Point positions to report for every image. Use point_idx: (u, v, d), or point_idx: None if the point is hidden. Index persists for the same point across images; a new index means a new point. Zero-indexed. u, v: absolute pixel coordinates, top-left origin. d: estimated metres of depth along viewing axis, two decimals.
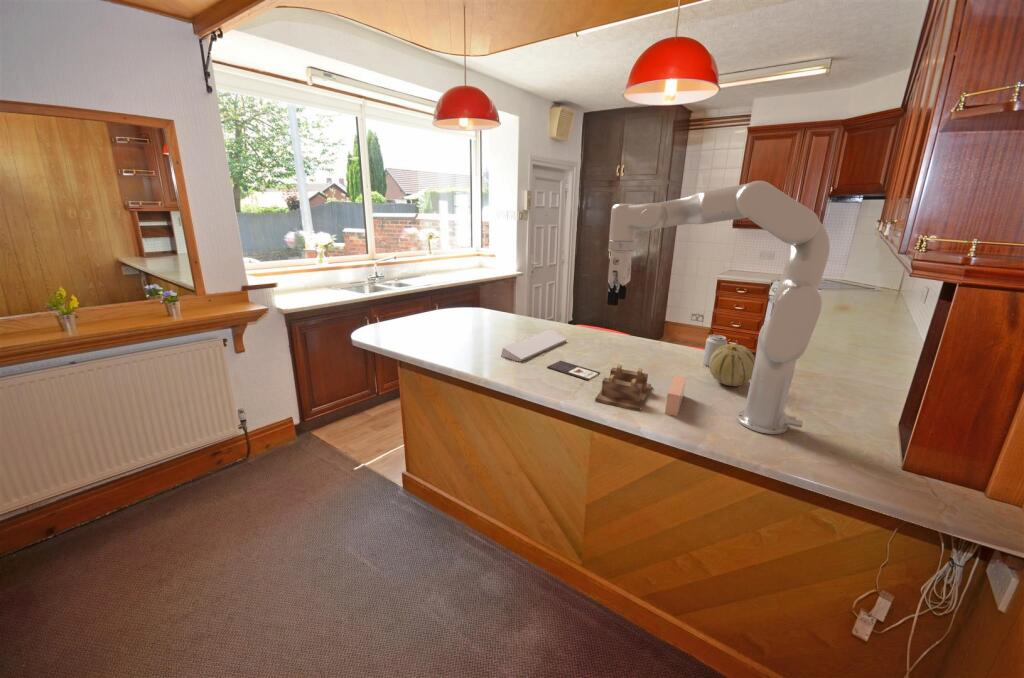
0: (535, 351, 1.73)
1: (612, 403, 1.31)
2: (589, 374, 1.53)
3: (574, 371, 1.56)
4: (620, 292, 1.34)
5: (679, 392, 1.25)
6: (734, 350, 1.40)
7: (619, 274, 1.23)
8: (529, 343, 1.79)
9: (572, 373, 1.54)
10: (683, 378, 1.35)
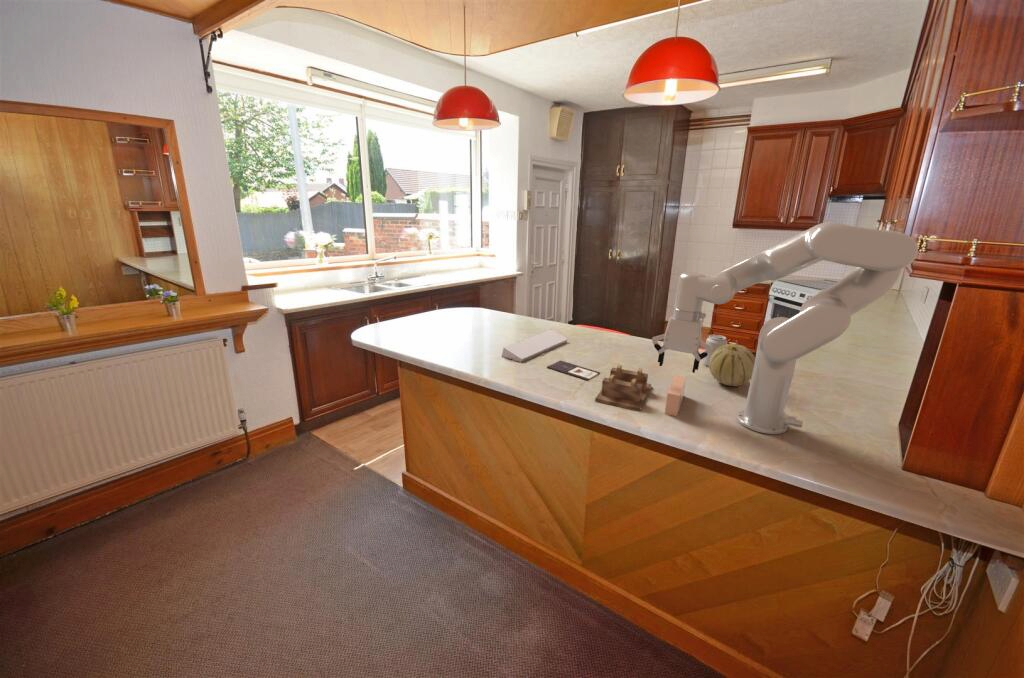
0: (536, 351, 1.73)
1: (612, 403, 1.31)
2: (589, 374, 1.53)
3: (574, 371, 1.56)
4: (663, 358, 1.30)
5: (679, 392, 1.25)
6: (734, 350, 1.40)
7: None
8: (530, 343, 1.79)
9: (572, 373, 1.54)
10: (683, 378, 1.34)
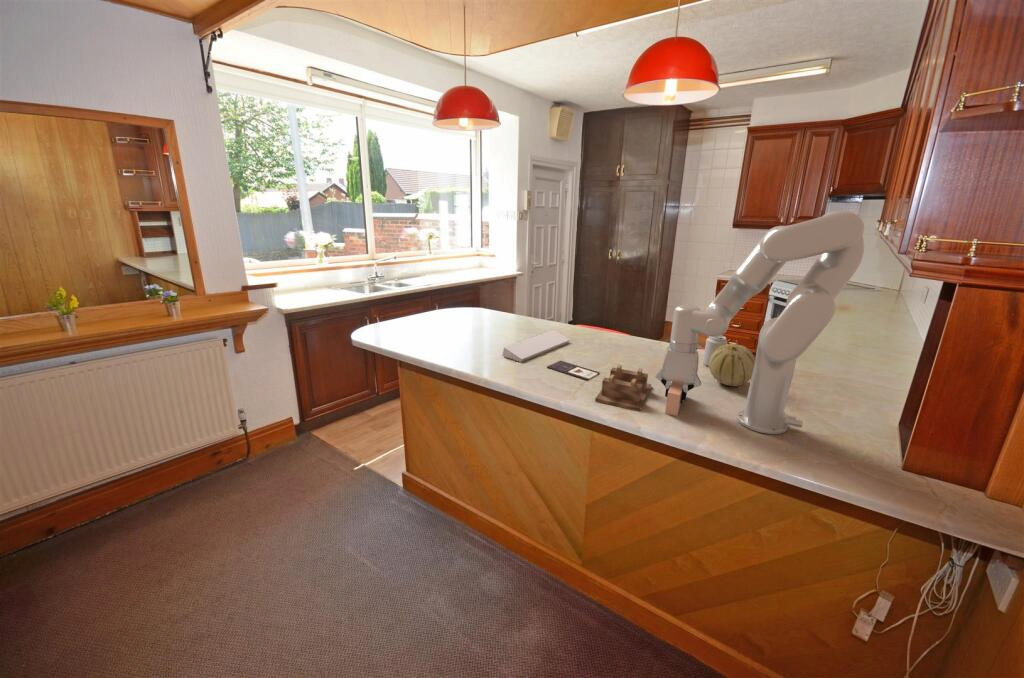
0: (536, 351, 1.73)
1: (612, 403, 1.31)
2: (589, 374, 1.53)
3: (574, 371, 1.56)
4: None
5: (679, 391, 1.24)
6: (734, 350, 1.40)
7: (697, 370, 1.27)
8: (531, 343, 1.79)
9: (572, 373, 1.54)
10: None
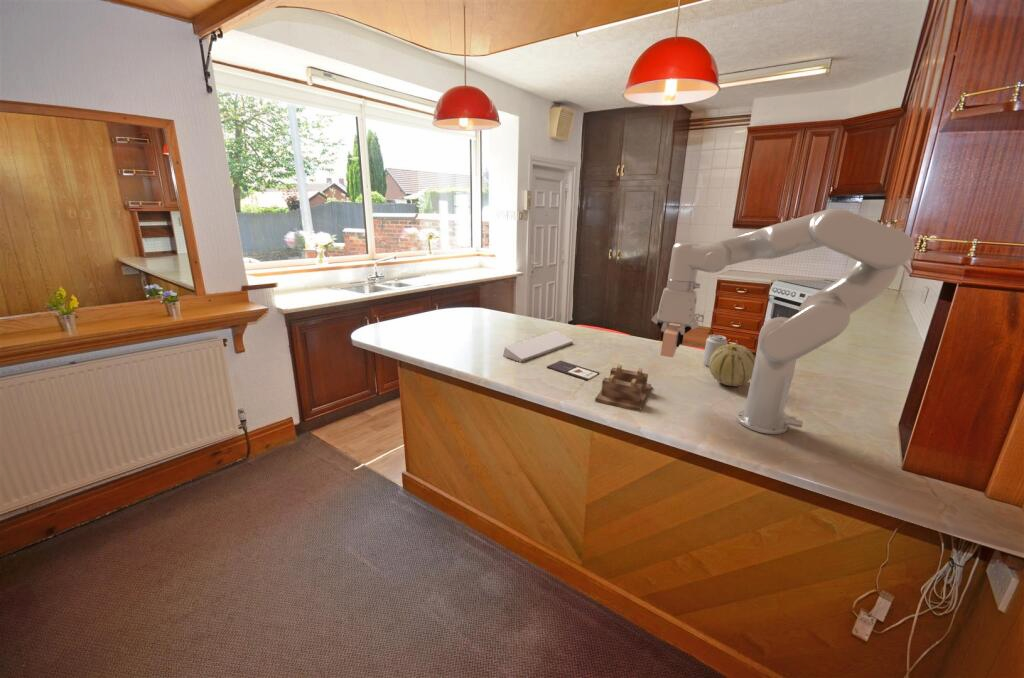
0: (537, 352, 1.73)
1: (612, 403, 1.31)
2: (588, 374, 1.53)
3: (574, 371, 1.56)
4: None
5: (676, 332, 1.20)
6: (734, 350, 1.40)
7: None
8: (533, 343, 1.78)
9: (571, 373, 1.54)
10: None
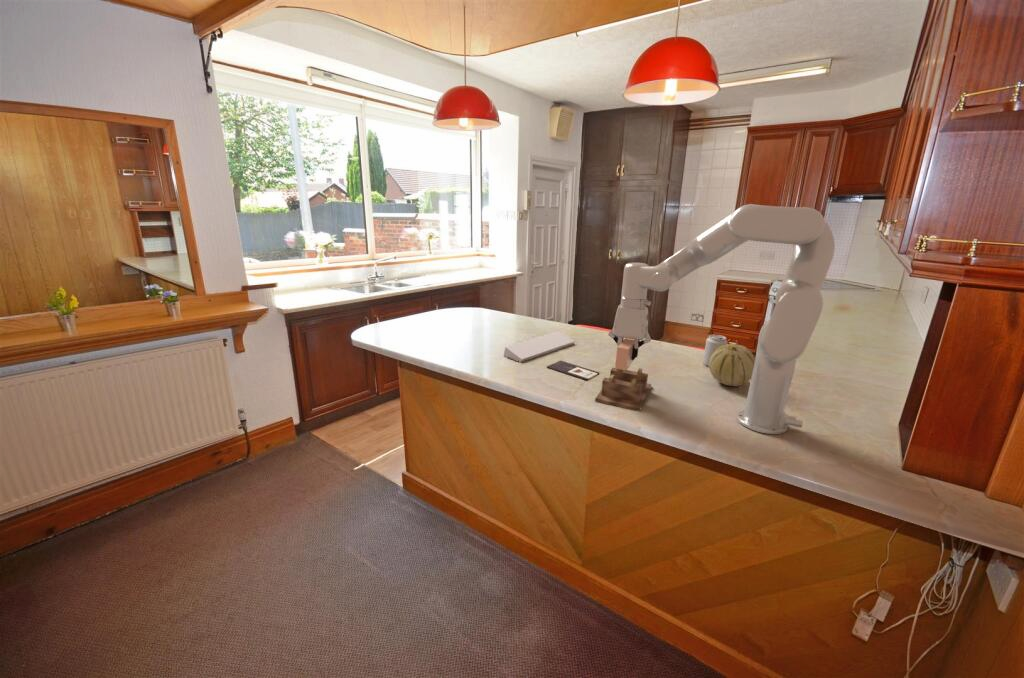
0: (538, 352, 1.72)
1: (612, 403, 1.31)
2: (588, 374, 1.53)
3: (574, 371, 1.56)
4: None
5: (628, 346, 1.28)
6: (734, 350, 1.40)
7: (647, 327, 1.31)
8: (534, 343, 1.78)
9: (571, 373, 1.54)
10: None
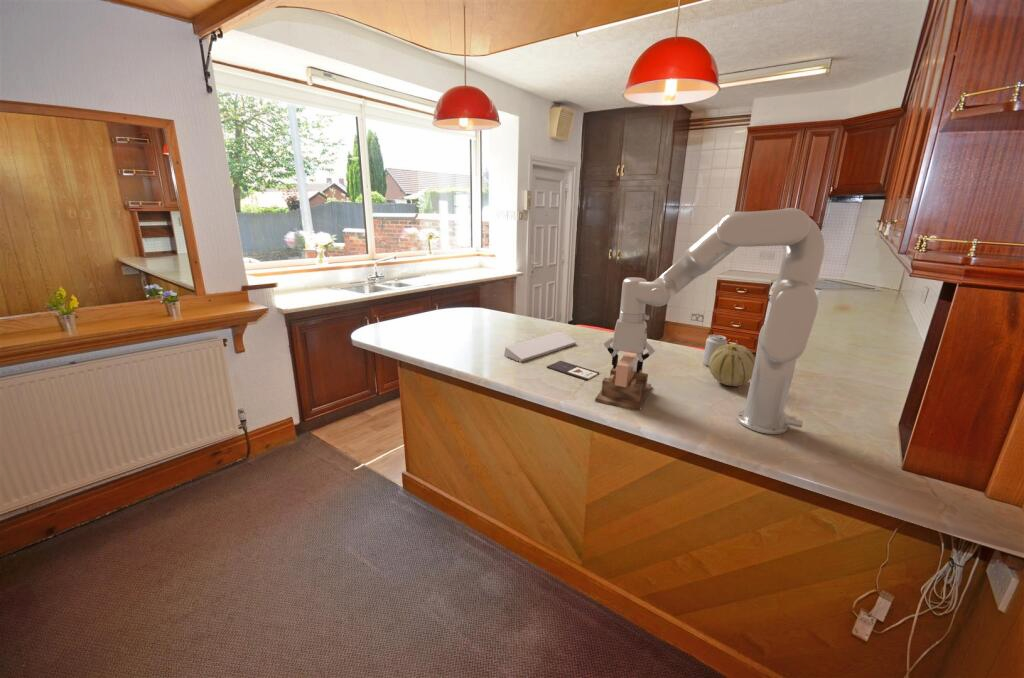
0: (538, 352, 1.72)
1: (612, 403, 1.31)
2: (588, 374, 1.53)
3: (574, 371, 1.56)
4: (616, 361, 1.37)
5: (628, 363, 1.30)
6: (734, 350, 1.40)
7: (646, 341, 1.32)
8: (535, 343, 1.78)
9: (571, 373, 1.54)
10: None
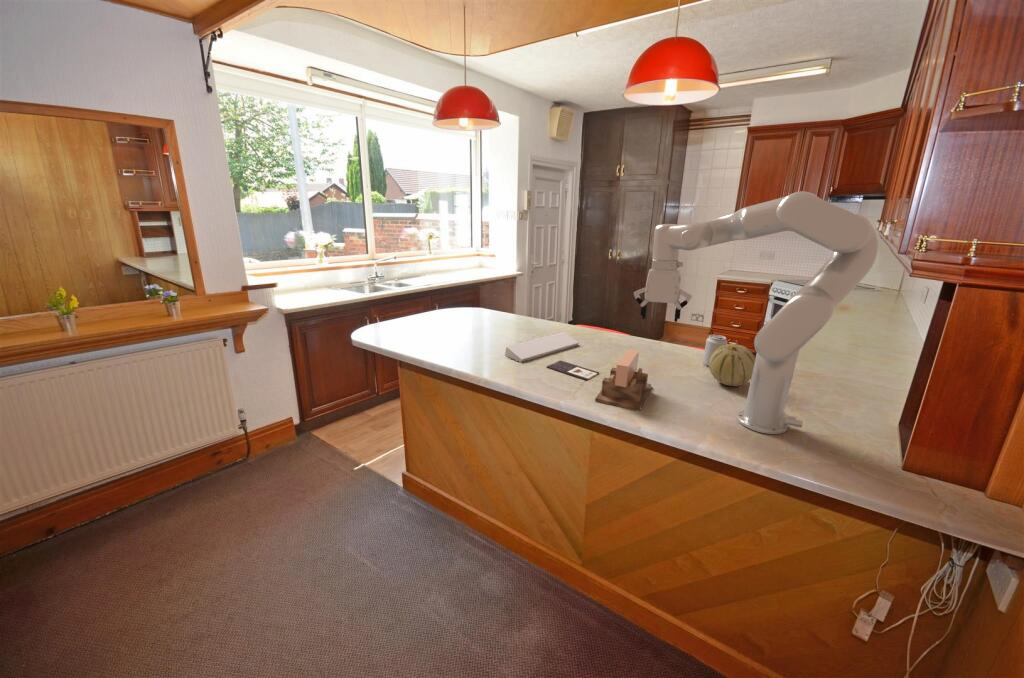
0: (539, 352, 1.72)
1: (612, 403, 1.31)
2: (588, 374, 1.53)
3: (574, 371, 1.56)
4: (645, 311, 1.34)
5: (628, 363, 1.30)
6: (734, 350, 1.40)
7: None
8: (536, 344, 1.77)
9: (571, 373, 1.54)
10: (635, 352, 1.40)
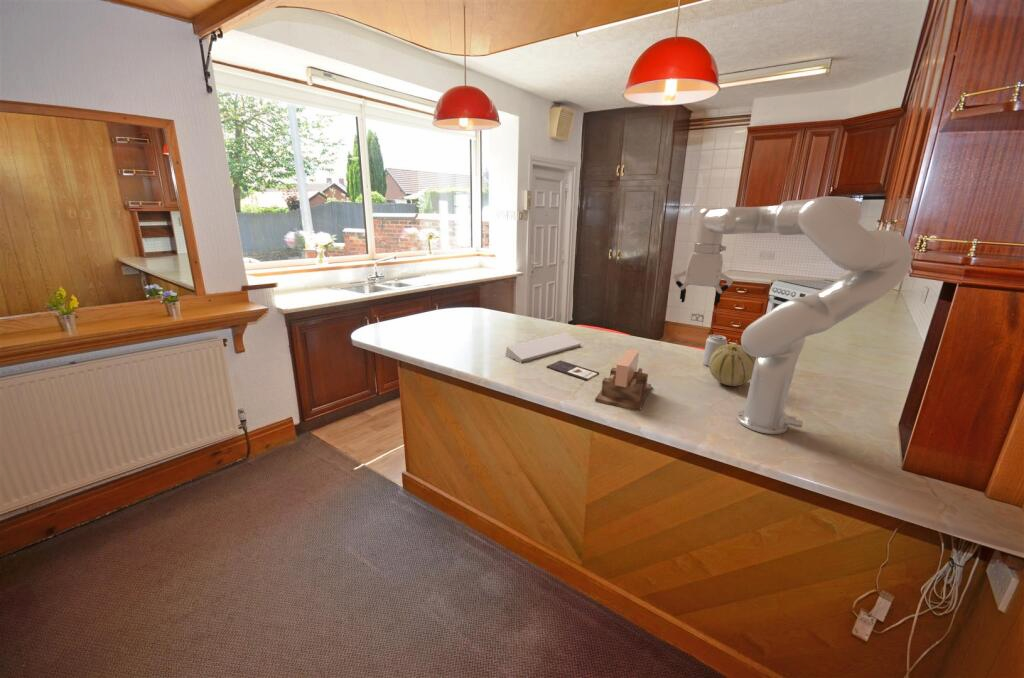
0: (540, 353, 1.71)
1: (612, 403, 1.31)
2: (588, 374, 1.53)
3: (573, 371, 1.56)
4: None
5: (628, 363, 1.30)
6: (734, 350, 1.40)
7: None
8: (537, 344, 1.77)
9: (571, 373, 1.54)
10: (635, 352, 1.40)
